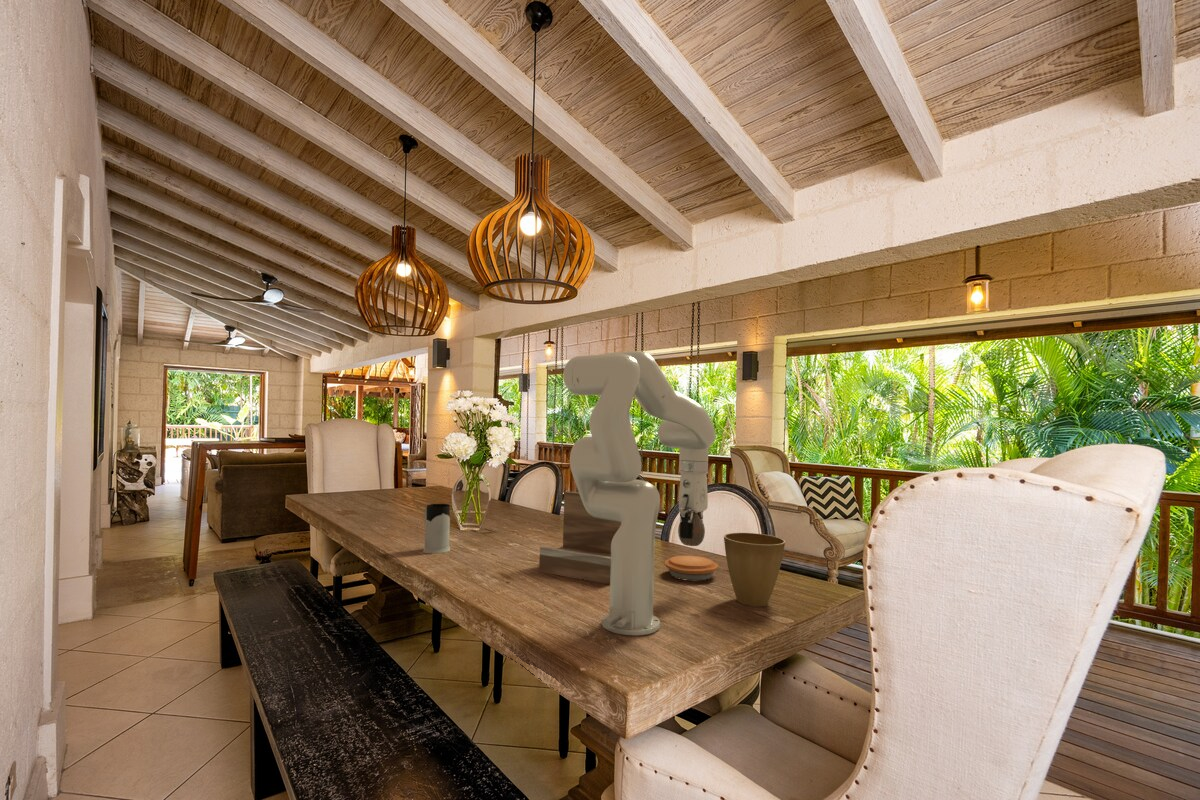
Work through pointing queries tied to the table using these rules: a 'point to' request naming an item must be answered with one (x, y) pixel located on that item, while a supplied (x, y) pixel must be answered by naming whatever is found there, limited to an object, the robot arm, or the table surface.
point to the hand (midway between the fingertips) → (691, 535)
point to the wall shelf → (581, 544)
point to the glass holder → (437, 528)
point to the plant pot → (753, 565)
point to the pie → (691, 567)
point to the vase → (694, 532)
